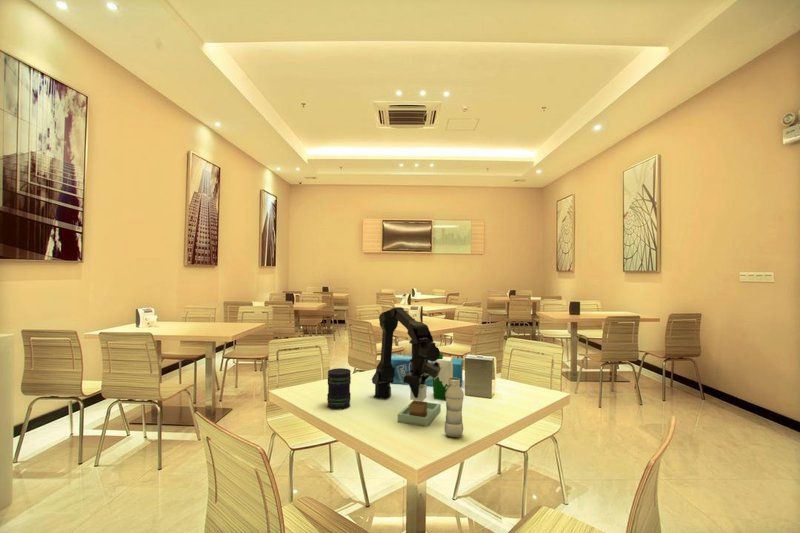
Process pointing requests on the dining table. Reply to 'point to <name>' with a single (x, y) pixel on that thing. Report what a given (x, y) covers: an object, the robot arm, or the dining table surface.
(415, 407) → the walnut block
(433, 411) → the tray
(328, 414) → the dining table surface
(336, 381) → the storage jar
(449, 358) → the milk carton
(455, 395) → the plastic bottle
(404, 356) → the soda box
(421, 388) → the cube
